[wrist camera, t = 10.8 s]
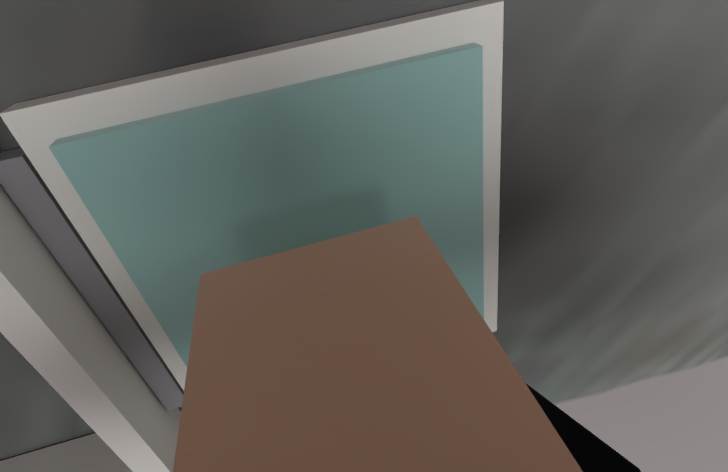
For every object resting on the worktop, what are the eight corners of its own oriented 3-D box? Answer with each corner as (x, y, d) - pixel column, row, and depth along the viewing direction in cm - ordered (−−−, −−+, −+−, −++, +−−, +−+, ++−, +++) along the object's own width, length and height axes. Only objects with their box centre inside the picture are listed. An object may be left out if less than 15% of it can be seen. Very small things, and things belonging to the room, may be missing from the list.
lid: (181, 407, 17) (176, 438, 16) (-26, 112, 10) (-57, 131, 9) (488, 317, 18) (502, 339, 17) (488, -2, 11) (513, 2, 10)
